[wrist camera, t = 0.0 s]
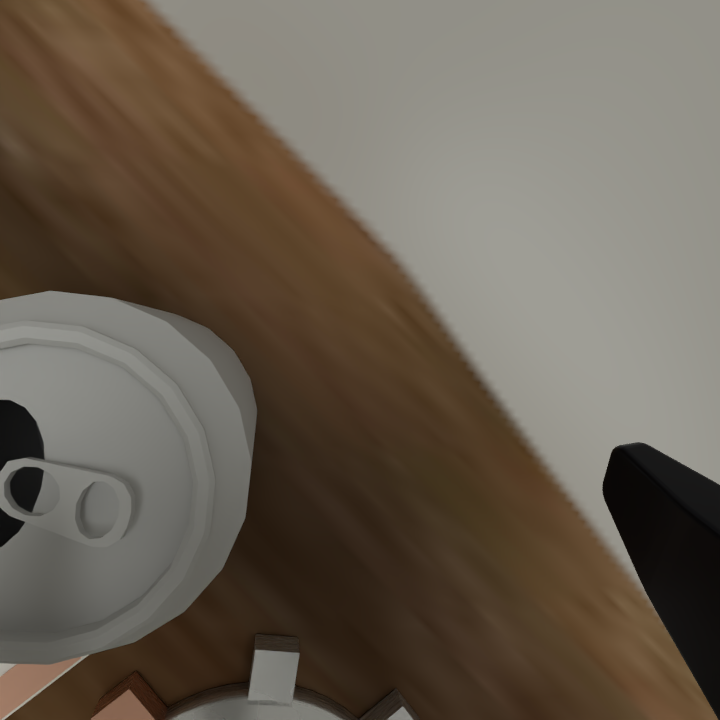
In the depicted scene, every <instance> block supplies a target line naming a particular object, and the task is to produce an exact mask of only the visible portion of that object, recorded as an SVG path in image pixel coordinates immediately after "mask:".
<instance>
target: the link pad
mask: <svg viewBox="0 0 720 720" xmlns="http://www.w3.org/2000/svg"><path fill="white" fill-rule="evenodd" d="M87 656H88V655H86V656H82V657H78V658H73V659H69V660H66V661H62V662H58V663H54V664H51V665H40V664H4V663H0V720H5V719H6V718H7V717H8V716H10V715H11V714H12V713H14V712H15V711H16V710H18V709H19V708H20V707H22V706H23V705H24V704H25V703H27V702H28V701H29V700H31V699H32V698H33V697H35V696H36V695H37V694H38V693H40V692H41V691H42V690H44V689H45V688H46V687H48V686H49V685H50V684H52V683H53V682H54V681H55V680H57V679H58V678H59V677H61V676H62V675H63V674H65V673H66V672H67V671H69V670H70V669H71V668H72V667H74V666H75V665H76V664H78V663H79V662H80V661H82V660H83V659H84V658H86V657H87Z"/></svg>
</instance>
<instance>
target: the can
mask: <svg viewBox="0 0 720 720" xmlns="http://www.w3.org/2000/svg"><path fill="white" fill-rule="evenodd" d="M256 418H257V407H256V402H255V398H254V393H253V389H252V384H251V379H250V377H249V376H248V374H247V372H246V371H245V369H244V367H243V365H242V364H241V362H240V360H239V359H238V357H237V355H236V354H235V352H234V350H233V349H231V348H230V347H229V346H228V345H227V344H226V343H225V342H223V341H222V340H221V339H220V338H219V337H218V336H217V335H216V334H214V333H213V332H212V331H211V330H210V329H209V328H207V327H204V326H202V325H200V324H198V323H195V322H193V321H191V320H188V319H186V318H184V317H182V316H179V315H177V314H173V313H169V312H165V311H161V310H157V309H154V308H150V307H146V306H142V305H138V304H134V303H130V302H126V301H122V300H118V299H115V298H109V297H100V296H91V295H83V294H74V293H65V292H56V291H47V292H42V293H36V294H31V295H26V296H20V297H15V298H9V299H4V300H0V663H4V664H40V665H51V664H54V663H58V662H62V661H66V660H69V659H73V658H78V657H82V656H86V655H89V654H93V653H97V652H101V651H104V650H108V649H112V648H116V647H119V646H123V645H127V644H131V643H134V642H136V641H137V640H139V639H141V638H142V637H144V636H146V635H147V634H149V633H151V632H152V631H154V630H155V629H157V628H159V627H160V626H162V625H164V624H165V623H167V622H168V621H170V620H172V619H173V618H175V617H177V616H178V615H180V614H182V613H183V612H185V611H186V609H187V608H188V607H189V606H190V605H191V604H192V603H193V602H194V600H195V599H196V598H197V597H198V596H199V595H200V594H201V592H202V591H203V590H204V589H205V588H206V587H207V586H208V585H209V583H210V582H211V581H212V580H213V579H214V578H215V577H216V576H217V574H218V573H219V572H220V571H221V570H222V569H223V567H224V564H225V562H226V560H227V558H228V556H229V553H230V551H231V549H232V547H233V544H234V542H235V540H236V538H237V535H238V533H239V531H240V529H241V526H242V524H243V522H244V520H245V518H246V509H247V500H248V491H249V482H250V473H251V464H252V455H253V447H254V437H255V428H256Z"/></svg>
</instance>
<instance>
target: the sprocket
mask: <svg viewBox="0 0 720 720" xmlns="http://www.w3.org/2000/svg"><path fill="white" fill-rule="evenodd" d="M299 653H300V652H299V643H298V637H289V636H276V635H263V634H256V637H255V644H254V650H253V657H252V664H251V670H250V677H249V682H245V683H237V684H229V685H225V686H221V687H217V688H213V689H209V690H206V691H203V692H200V693H198V694H195V695H193V696H190V697H187V698H185V699H183V700H182V701H180V702H178V703H176V704H174V705H172V706H170V707H168V708H167V707H166V706H165V705H164V703H163V702H162V701H161V700H160V699H159V697H158V696H157V695H156V694H155V693H154V691H153V690H152V689H151V688H150V687H149V686H148V684H147V683H146V682H145V681H144V680H143V678H142V677H141V676H140V675H139V674H138V673H137V671H135V672H134V673H133V674H132V675H130V676H129V677H128V678H126V679H125V680H124V681H123V682H121V683H120V684H119V685H117V686H116V687H115V688H114V689H112V690H111V691H110V692H108V693H107V694H106V695H104V696H103V697H102V698H101V699H100V700H99V702H98V704H97V706H96V708H95V711H94V713H93V715H92V717H91V720H420V718H419V717H418V716H417V714H416V713H415V712H414V710H413V709H412V708H411V707H410V705H409V704H408V703H407V701H406V700H405V699H404V698H403V696H402V695H401V694H400V693H399V691H398V690H397V689H395V690H394V691H393V692H391V693H390V694H389V695H388V696H386V697H385V698H384V699H383V700H382V701H380V702H379V703H378V704H377V705H375V706H374V707H373V708H372V709H371V710H369V711H368V712H367V713H366V714H364V715H363V716H362V717H361V718H360V719H358V718H357V717H355V716H354V715H353V714H352V713H350V712H349V711H348V710H347V709H345V708H344V707H343V706H341V705H339V704H338V703H336V702H334V701H333V700H331V699H329V698H327V697H325V696H323V695H320V694H318V693H316V692H313V691H311V690H308V689H304V688H301V687H297V686H295V680H296V673H297V667H298V660H299Z"/></svg>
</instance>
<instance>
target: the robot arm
mask: <svg viewBox="0 0 720 720" xmlns="http://www.w3.org/2000/svg"><path fill="white" fill-rule="evenodd" d="M603 495H604V499H605V502H606V504H607V506H608V509H609V511H610V513H611V515H612V518H613V520H614V522H615V524H616V527H617V529H618V531H619V533H620V536H621V538H622V540H623V542H624V545H625V547H626V549H627V552H628V554H629V556H630V558H631V561H632V563H633V565H634V567H635V570H636V572H637V574H638V576H639V578H640V581H641V583H642V585H643V587H644V589H645V591H646V593H647V595H648V597H649V599H650V600H651V602H652V604H653V606H654V608H655V610H656V611H657V613H658V615H659V617H660V618H661V620H662V622H663V624H664V625H665V627H666V629H667V631H668V632H669V634H670V636H671V638H672V639H673V641H674V643H675V644H676V646H677V648H678V650H679V651H680V653H681V655H682V657H683V658H684V660H685V662H686V664H687V665H688V667H689V669H690V671H691V672H692V674H693V676H694V678H695V679H696V681H697V683H698V685H699V686H700V688H701V690H702V692H703V693H704V695H705V697H706V699H707V700H708V702H709V704H710V706H711V707H712V709H713V711H714V713H715V714H716V716H717V718H718V720H720V485H719V484H717V483H716V482H714V481H712V480H710V479H708V478H706V477H705V476H703V475H701V474H699V473H698V472H696V471H694V470H692V469H690V468H689V467H687V466H685V465H683V464H681V463H680V462H678V461H676V460H674V459H672V458H671V457H669V456H667V455H665V454H663V453H662V452H660V451H658V450H656V449H654V448H653V447H651V446H649V445H647V444H644V443H639V442H638V443H631V444H625V445H619V446H617V447H615V448H614V449H613V451H612V453H611V456H610V459H609V463H608V467H607V470H606V474H605V477H604V481H603Z"/></svg>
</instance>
